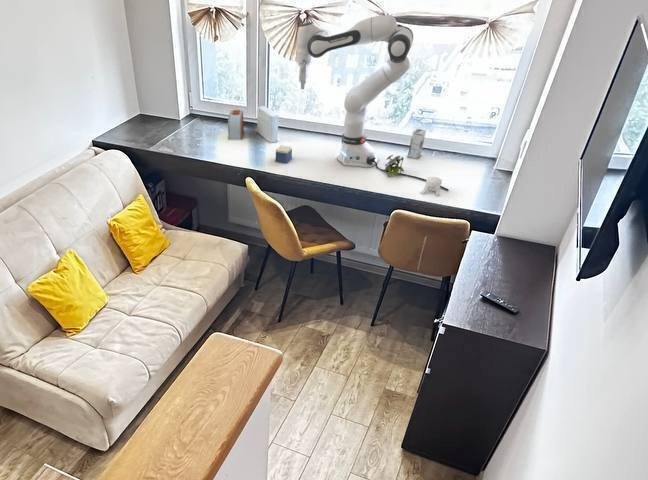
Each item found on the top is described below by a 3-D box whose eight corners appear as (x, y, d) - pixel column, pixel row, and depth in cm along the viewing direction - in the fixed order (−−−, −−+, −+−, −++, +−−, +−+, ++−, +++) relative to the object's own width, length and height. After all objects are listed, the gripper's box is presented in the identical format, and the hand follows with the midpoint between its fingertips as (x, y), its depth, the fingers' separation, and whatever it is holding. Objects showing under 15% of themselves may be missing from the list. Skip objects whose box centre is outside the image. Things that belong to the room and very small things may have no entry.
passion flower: (386, 180, 302) (389, 158, 301) (405, 180, 297) (409, 157, 295) (380, 175, 293) (383, 152, 291) (400, 175, 287) (404, 152, 286)
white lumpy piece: (422, 192, 285) (420, 193, 272) (426, 175, 281) (424, 176, 269) (439, 194, 282) (437, 196, 269) (444, 177, 279) (442, 178, 266)
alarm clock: (231, 130, 354) (230, 109, 345) (244, 130, 353) (243, 109, 344) (228, 139, 344) (227, 117, 334) (241, 139, 342) (240, 117, 333)
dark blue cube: (291, 158, 317) (292, 146, 312) (286, 163, 313) (286, 151, 308) (281, 156, 320) (281, 144, 315) (275, 161, 315) (275, 149, 311)
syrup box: (411, 153, 314) (416, 128, 304) (421, 155, 311) (426, 130, 301) (407, 157, 311) (412, 131, 301) (417, 159, 308) (422, 133, 298)
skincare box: (278, 141, 337) (278, 115, 326) (270, 143, 336) (270, 116, 325) (264, 130, 352) (264, 105, 341) (256, 132, 350) (256, 106, 339)
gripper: (309, 63, 277) (307, 92, 287) (311, 52, 292) (310, 80, 301) (296, 63, 278) (295, 92, 288) (300, 53, 293) (299, 80, 302)
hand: (303, 86), depth 295 cm, fingers open, 8 cm apart
